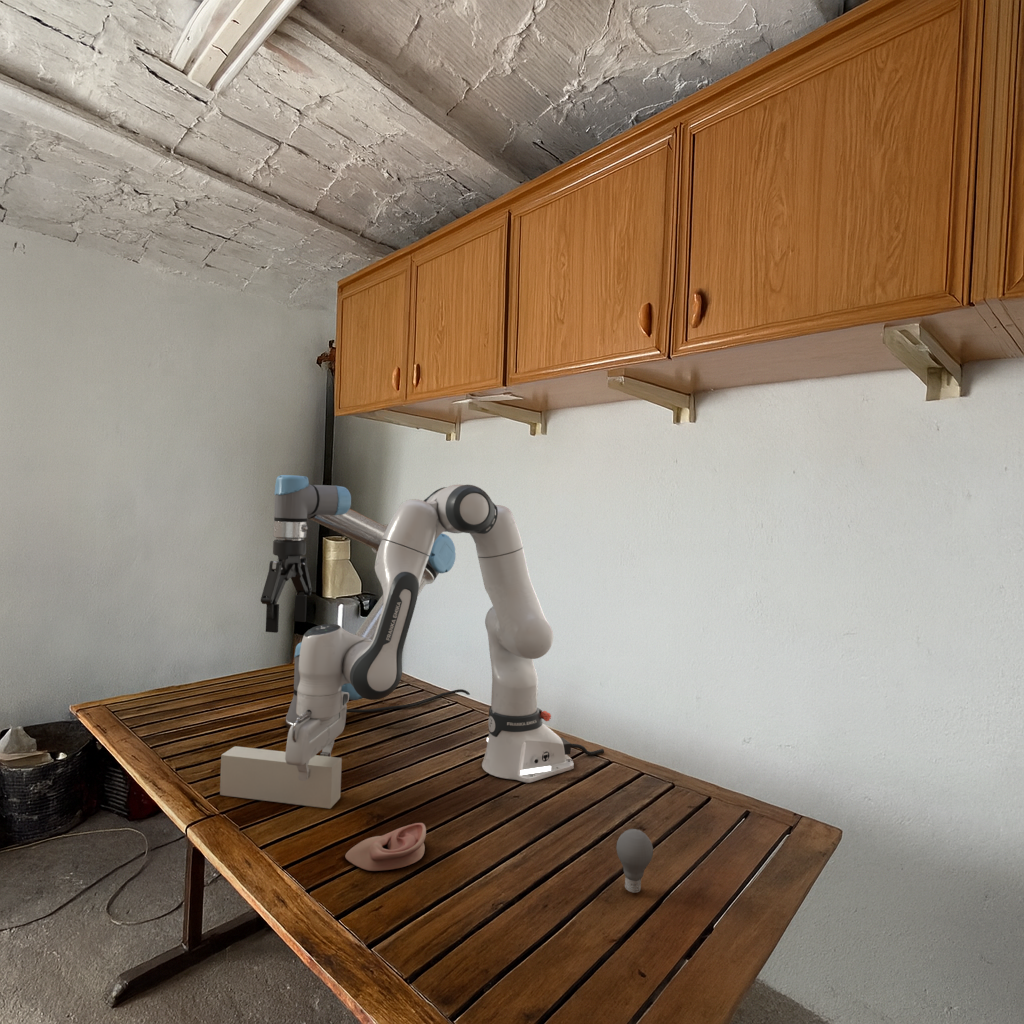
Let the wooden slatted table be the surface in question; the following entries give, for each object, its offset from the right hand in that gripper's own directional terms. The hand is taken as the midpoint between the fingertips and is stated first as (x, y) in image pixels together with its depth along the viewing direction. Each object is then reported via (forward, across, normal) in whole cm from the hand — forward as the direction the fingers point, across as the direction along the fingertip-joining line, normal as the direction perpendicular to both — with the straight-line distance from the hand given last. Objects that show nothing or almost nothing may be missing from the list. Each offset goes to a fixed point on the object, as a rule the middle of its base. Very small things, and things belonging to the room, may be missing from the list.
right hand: (315, 769), depth 132 cm
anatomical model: (+6, -15, -22) cm, 27 cm away
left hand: (-25, +20, +18) cm, 37 cm away
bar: (+7, 0, +8) cm, 10 cm away
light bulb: (+6, -16, -65) cm, 67 cm away
